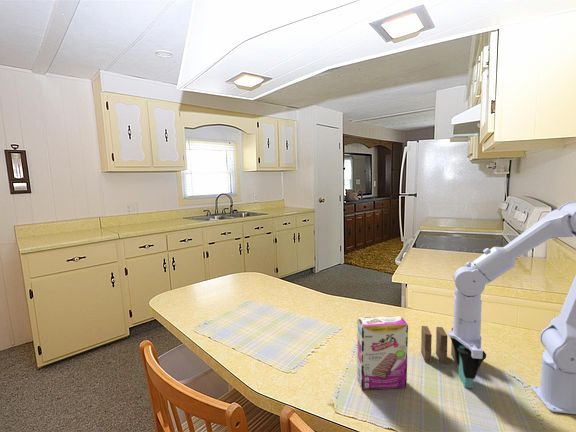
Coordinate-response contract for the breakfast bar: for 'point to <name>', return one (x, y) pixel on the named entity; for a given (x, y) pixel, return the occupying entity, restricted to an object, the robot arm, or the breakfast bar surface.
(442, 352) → the walnut domino
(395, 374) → the candy bar box
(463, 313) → the robot arm
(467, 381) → the teal domino
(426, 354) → the walnut domino
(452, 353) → the walnut domino
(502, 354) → the breakfast bar surface
